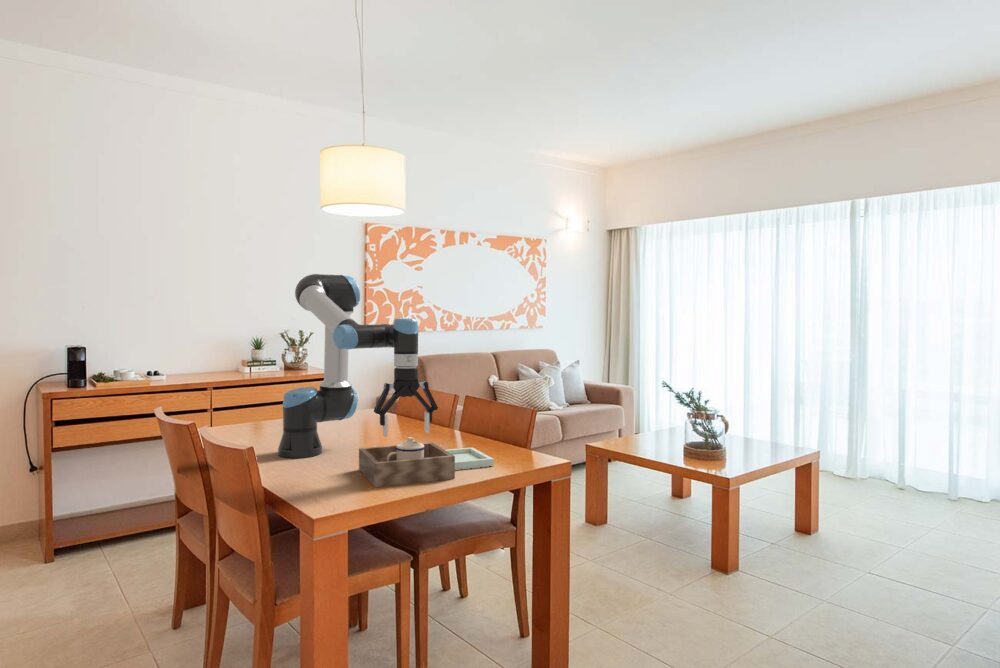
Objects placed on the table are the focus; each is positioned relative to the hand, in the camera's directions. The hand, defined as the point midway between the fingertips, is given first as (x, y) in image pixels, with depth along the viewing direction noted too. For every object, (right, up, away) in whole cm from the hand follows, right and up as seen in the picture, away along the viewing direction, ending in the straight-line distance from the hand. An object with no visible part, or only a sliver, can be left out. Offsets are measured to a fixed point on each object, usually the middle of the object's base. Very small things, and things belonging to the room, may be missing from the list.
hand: (406, 434), depth 201 cm
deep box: (0, -13, +1) cm, 13 cm away
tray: (+16, -12, +17) cm, 27 cm away
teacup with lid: (0, -13, +1) cm, 13 cm away
